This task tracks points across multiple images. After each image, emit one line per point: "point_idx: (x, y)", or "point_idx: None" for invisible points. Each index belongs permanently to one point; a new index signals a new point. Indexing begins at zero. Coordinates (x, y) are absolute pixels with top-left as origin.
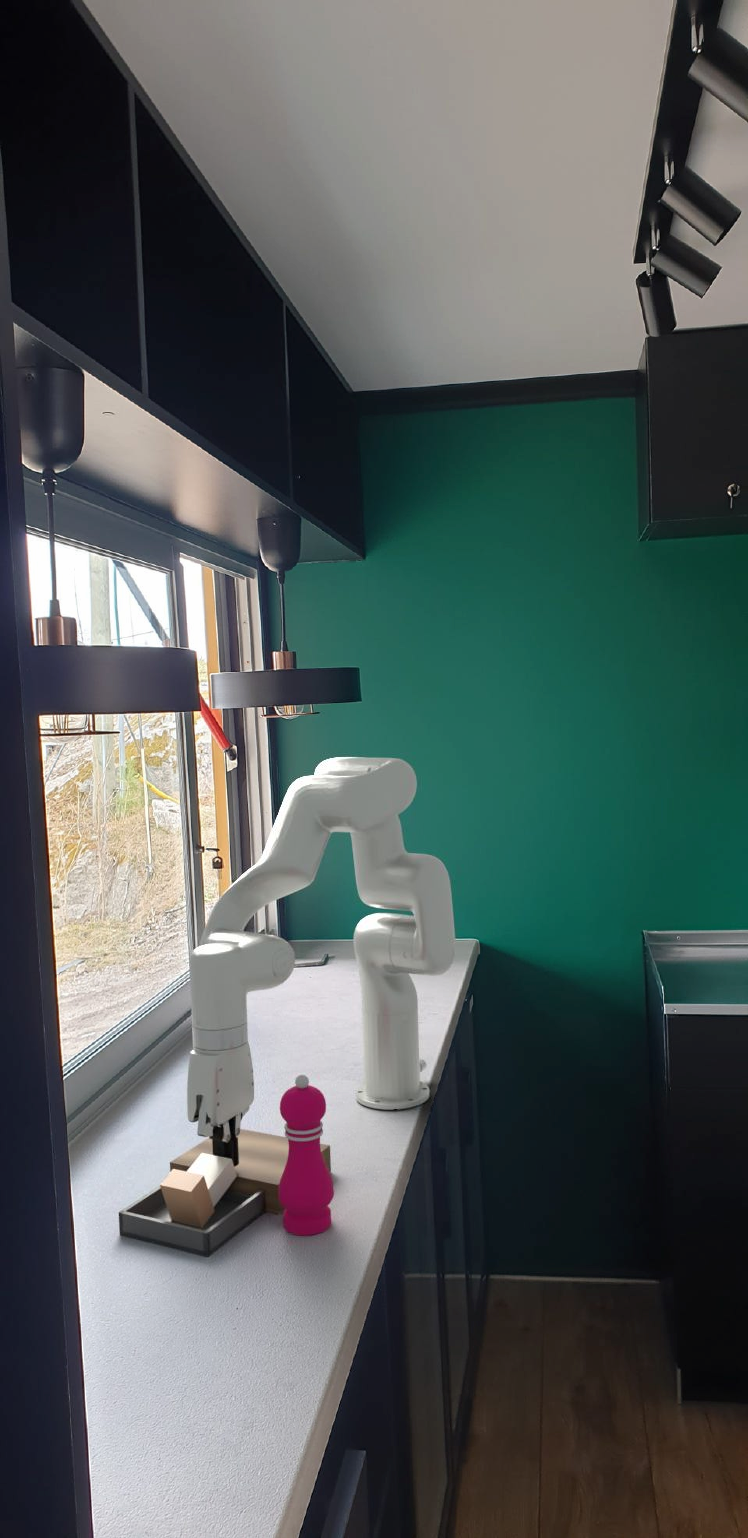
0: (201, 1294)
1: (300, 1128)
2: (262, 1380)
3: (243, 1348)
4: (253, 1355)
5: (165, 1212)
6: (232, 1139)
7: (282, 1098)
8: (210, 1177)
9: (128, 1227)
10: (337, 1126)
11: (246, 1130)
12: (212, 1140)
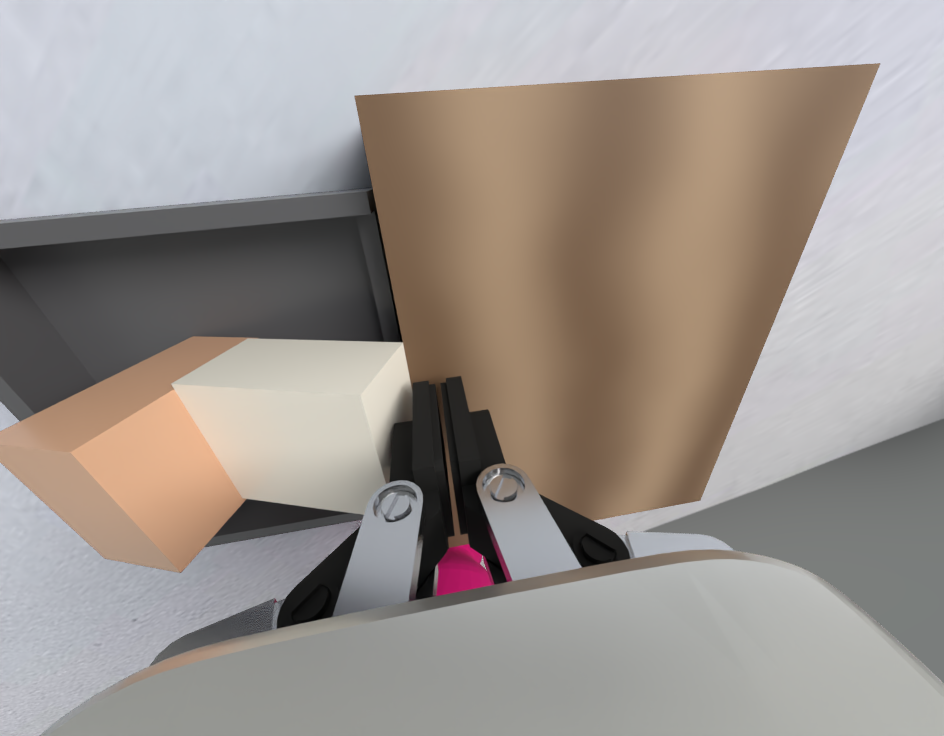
0: (92, 572)
1: None
2: (70, 706)
3: (82, 671)
4: (88, 681)
5: (208, 277)
6: (460, 532)
7: None
8: (284, 487)
9: None
10: (928, 310)
11: (812, 212)
12: (412, 459)
